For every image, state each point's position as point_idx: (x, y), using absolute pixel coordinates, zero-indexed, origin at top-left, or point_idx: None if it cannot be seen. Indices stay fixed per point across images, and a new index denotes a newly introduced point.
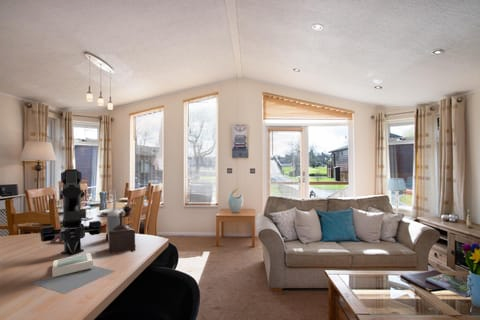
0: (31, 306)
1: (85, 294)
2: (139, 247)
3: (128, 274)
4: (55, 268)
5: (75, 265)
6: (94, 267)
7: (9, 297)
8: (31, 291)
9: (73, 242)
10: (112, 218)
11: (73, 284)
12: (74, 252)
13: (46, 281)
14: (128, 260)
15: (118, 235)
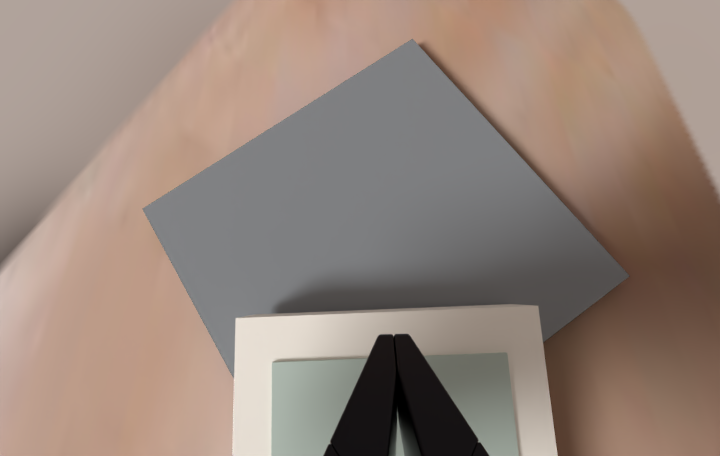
0: (536, 22)
1: (326, 31)
2: None
3: (101, 160)
4: (517, 321)
5: (369, 312)
6: None
7: (682, 165)
8: (588, 188)
9: (387, 431)
10: None
11: (378, 127)
12: None
13: (537, 255)
14: (7, 426)
15: None
